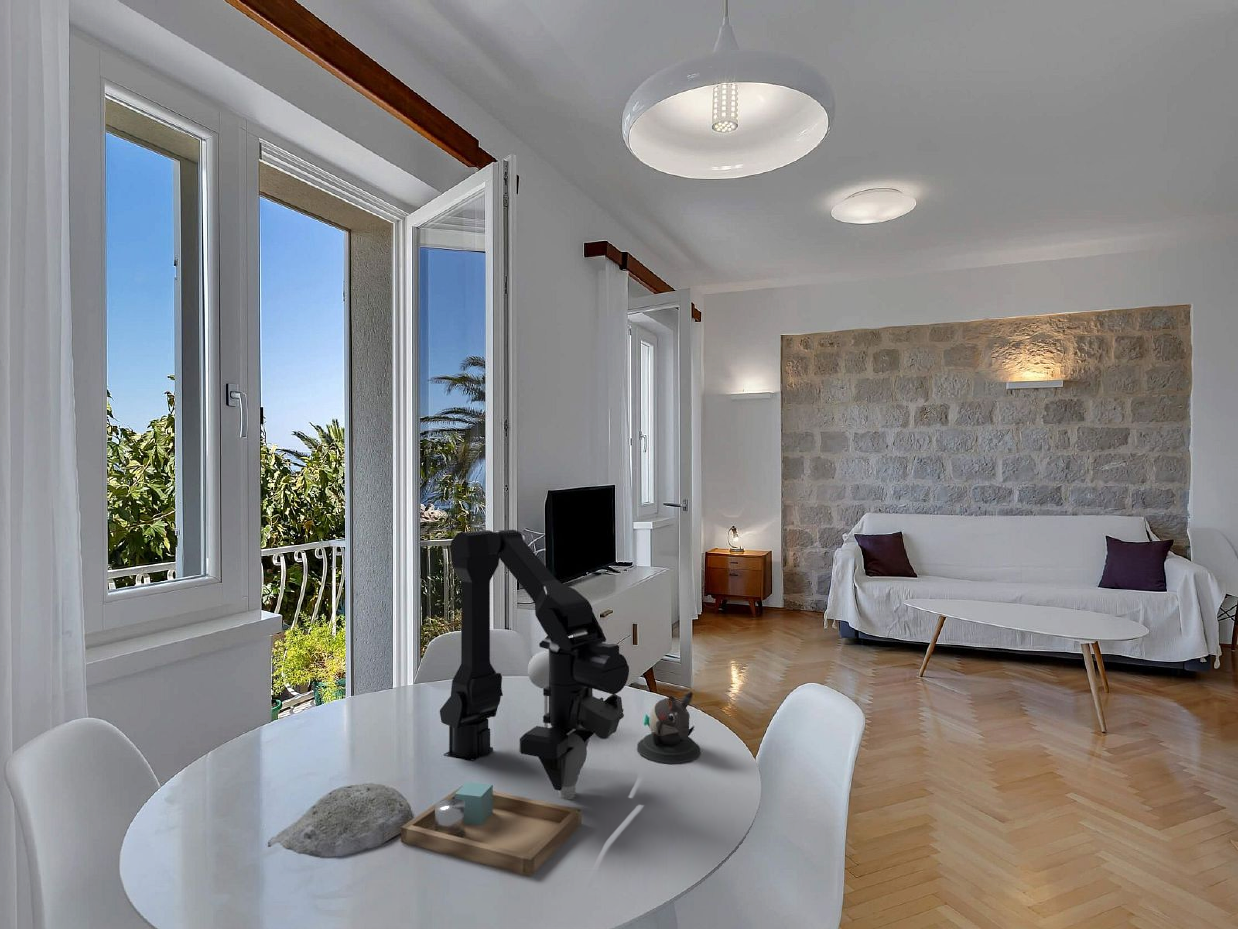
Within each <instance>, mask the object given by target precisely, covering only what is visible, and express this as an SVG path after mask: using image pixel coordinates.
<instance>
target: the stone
mask: <svg viewBox="0 0 1238 929" xmlns="http://www.w3.org/2000/svg"><path fill="white" fill-rule="evenodd" d="M407 800H408V799H406V797H404V795H403V794H402V793H401V792H400V791H399V790H397V789H395V788H394V787H389V786H387V785H385V784H381V783H380V784H379V783H361V784H354V785H353V784H352V785H351V784H350V785H344V786H343V785H342V786H340V787H339V788H336V789H333V790H331V791H330V792H328V793H326V794H325V795H322V797H320V798H319V799H318V800H317V801H316V802H315V803H313V805H312V806H310V807H309V808H308V809H307V810H306V811H305V813H304V814H302V816H301V817H299V818H298V819H297V820H296V821H294V822H293V823H292V824H290V825H289V826H287V827H285V828H284V829H283V830H281V831H280V832H278V833H277V834H276V835H275V836H273V837H271V838H270V839H269V840H268V841H267V845H268V846H269V847H272V846H274V845H276V844H277V843H278V844H280V846H281V847H282V848H284V849H285V850H291V851H293V852H295V853H296V854H301V855H302V854H303V855H307V856H308V855H310V856H314V857H319V858H320V857H321V858H322V857H325V858H326V857H327V858H328V857H329V858H331V857H332V858H333V857H342V856H346V855H351V854H355V853H358V852H362V851H363V852H364V851H366V850H370V849H373V848H376V847H379V846H381V845H383V844H385V843H387V842H388V841H389V840H390V839H393V838H394V837H396V836H398V835H401V827H402V826H403V825H405V824H406V823H408V822H409V821H411V820H412V819H414V817H412V808H411V805H410V803H409V802H408V801H407Z"/></svg>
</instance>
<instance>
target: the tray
mask: <svg viewBox="0 0 1238 929" xmlns="http://www.w3.org/2000/svg"><path fill="white" fill-rule="evenodd" d="M461 787H462V786H460V787H459V788H457V789H456V790H454V791H453V792H451V793H450V794H448V795H447V796H445V797H444V798H442V799H440V800H439V801H438V802H436V803H435V804H433V805H432V806H430V807H429V808H427V809H426V810H424V811H423V812H421V813H420V814H418V815H416V816H415V817H413V819H412V820H411V821H409V822H408V823H406V824H405V825H403V826H402V827H401V833H400V843H404V844H408V845H411V846H415V847H419V848H423V849H427V850H429V851H434V852H437V853H441V854H445V855H449V856H452V857H456V858H460V859H463V860H467V861H471V862H475V863H478V864H483V865H487V866H490V867H494V868H497V869H501V870H505V871H509V872H512V873H517V874H521V875H524V876H527V877H531V876H532V875H533V874H534V873H535V872H536V871H537V870H538V869H539V868H540V867H541V866H542V865H543V864H544V862H546V861H547V860H548V859H549V858H550V856H552V855H553V854H554V853H555V852H556V850H558V849H559V848H560V846H561V845H562V844H563V843H564V842H565V841H566V840H567V839H569V837H570V836H571V835H572V834H574V832H576V831H577V829H578V828H579V827H580V826H581V825H582V815H583V814H582V809H580V808H579V809H578V808H574V807H569V806H565V805H561V804H560V805H559V804H556V803H551V802H546V801H540V800H538V799H537V800H536V799H532V798H529V797H528V798H527V797H522V796H519V795H514V794H513V795H512V794H510V793H509V794H508V793H503V792H499V791H494V790H493V812H492V813H491V815H490V816H489V817H488V818H487V819H486V820H485V821H484V822H483V824H482V825H473V824H465V835H464V837H463V838H460V837H456V836H452V835H448V834H445V833H441V832H437V831H435V806H436V804H437V803H439V802H441V801H443V800H447V799H455V793H456V792H457V791H458V790H459V789H460V788H461Z"/></svg>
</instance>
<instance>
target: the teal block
mask: <svg viewBox="0 0 1238 929" xmlns="http://www.w3.org/2000/svg"><path fill="white" fill-rule="evenodd" d="M493 786H494V784H492V783H485V782H475V781H474V782H473V781H466V782H465V783H464V784H463V785H461V786H460V787H461V788H460V787H459V788H460V789H459V788H458V789H459V790H458V791H457V792H456V793H455V799H460V800H462V801H464V802H465V824H473V825H482V824H483V822H484V821H485V820H486V819H487V818H488V817H489V816H490V815H491V813H492V812H493V791H494V790H493V788H494V787H493Z"/></svg>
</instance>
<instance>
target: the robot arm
mask: <svg viewBox="0 0 1238 929" xmlns="http://www.w3.org/2000/svg"><path fill="white" fill-rule="evenodd" d="M449 546H450V547H449V552H450V559H451V566H452V569H453V571H454V572H455V574H456V575H457V578H458V579H459V581H460V588H461V590H460V592H461V593H460V594H461V595H460V599H461V602H460V605H461V606H460V607H461V608H460V609H461V612H460V613H461V616H460V617H461V622H460V623H461V627H460V628H461V629H460V631H461V632H460V633H461V634H460V636H461V638H460V639H461V641H460V642H461V643H460V644H461V645H460V646H461V647H460V648H461V650H460V651H461V652H460V653H461V654H460V655H461V656H460V657H461V658H460V659H461V661H460V665H459V667H458V669H457V671H456V672H455V675H454V677H453V678H452V681H451V690H450V696H449V697H448V699H447V700H446V701H445V702H444V704H443V705H442V707H441V708H440V710H439V716H440V720H441V724H443V725H446V726H448V729H449V730H448V743H449V744H448V751H447V752H445V753H444V754H443V756H444V757H448V758H454V759H458V760H463V761H467V762H468V761H469V762H474V761H476V760H478V759H480V758H485V757H486V756H487V755H489V754H491V753H492V752H493V751H494V747H493V746H491V728H489V718H494V717H496V715H497V712H498V708H499V705H500V703H501V698H502V696H503V690H502V682H503V676H502V673H500V672H496V670H495V668H494V666H493V665H492V663H491V606H490V605H491V580H492V578H493V576H494V574H495V572H496V571H497V569H498V567H499V563H500V561H501V562H502V564H504V566H505V568H506V569H508V571H509V572H510V574H511V575H512V576H513V577H514V579H516V581H517V583H518V584H519V585H520V586H521V587H522V588H523V589H524V591H525V592H526V593H527V594H528V596H529V597H530V599H531V600H532V602H533V603H534V610H535V611H534V613H535V614H534V616H535V618H536V619H537V621H538V622H539V624H540V626H541V627H542V629H543V632H544V633H545V635H547V636H546V637H545V638H544V639H542V640H541V642H539V643H538V644H539V647H540V648H542V649H546V650H548V651H549V686H547V687H546V688H544V689H543V688H542V690H543V692H542V696H543V697H544V696H548V713H547V714H545V715H544V714H543V716H542V719H543V720H542V722H543V724H544V723H547V724H550V727H548V726H547V727H544V726H541V725H540V726H539V725H536V726H534V727H533V728H531V729H530V730H528V731H526V732H525V733H524V734H523V735H522V736H521V737H520V738H519V753H520V754H522V755H527V756H532V757H536V758H538V760H539V762H540V763H541V765H542V767H543V768H544V770H545V772H546V775H547V776H548V779H549V780H550V783H551V785H552V787H553V789H554V790H555V791H558V792H559V791H561V790H562V786H563V780H564V771H565V762H566V757H567V755H568V754H569V753H570V752H572V751H573V750H574V748H573V747H568V735H569V734H570V733H575V734H577V735H578V736H579V737H580V738H581V739H582V740H583V741H584V743H585V745H586V749H587V748H588V746H589V742H590V739H591V738H592V737H593V736H594V735H596V737H597V738H599V739H602V740H607V739H609V738H610V736H611V735H613V734H615V733H616V732H617V730H618V727H619V723H620V721H621V720H622V719H624V717H625V714H624V708H623V703H622V702H623V701H622V697H621V696H620V695H618V693H619V692H621V691H622V690H623V689H624V687H625V686H626V684H627V682H628V679H629V675H630V674H629V673H630V667H629V664H628V660H627V659H626V657H625V656H624V655H623V654H621V653H620V646H619V644H615V643H605V642H607V638H606V636H605V634H604V632H603V629H602V627H601V625H600V624H599V621H598V619H597V617H596V615H595V613H594V610H593V606H592V605H591V603H590V602H589V600H588V599H587V598H586V597H585V596H584V595H583V594H581V593H580V592H579V591H578V590H576V589H574V588H573V587H571V586H568V585H566V584H564V583H562V582H561V581H559V580H558V579H557V578H556V577H555V576H554V575H553V573H552V572H551V571H550V570H549V568H548V567H547V566H546V565H545V563H544V562H542V561H541V559H540V558H539V557H538V556H537V555H536V553H535V552H534V551H533V550H532V549H531V548H530V546H529V545H528V544H527V543H526V542H525V540H524V538H523V535H522V533H521V532H520V531H518V530H516V529H499V530H495V531H492V530H490V529H489V530H474V531H473V530H472V531H461V532H457V533H456V534H455V535H454V537H453V538H452V539H451V540H450V545H449ZM584 633H585V634H584ZM580 634H581V635H580ZM576 635H577V636H576ZM571 636H572V637H571ZM593 690H597V691H600V692H603V693H606V694H610V695H609V696H608V697H607V698H606V699H605V700H604V698H603V697H600V698H598V697H595V696H594V695H593ZM580 773H581V771H580V772H579V774H578V776H580Z"/></svg>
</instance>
